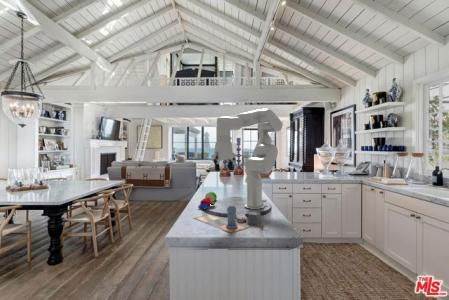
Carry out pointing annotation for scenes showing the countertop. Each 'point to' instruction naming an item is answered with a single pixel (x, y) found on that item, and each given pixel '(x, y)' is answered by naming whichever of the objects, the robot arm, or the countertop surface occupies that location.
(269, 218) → the countertop surface
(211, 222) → the board
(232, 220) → the pawn
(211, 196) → the toy
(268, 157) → the robot arm
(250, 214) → the die
